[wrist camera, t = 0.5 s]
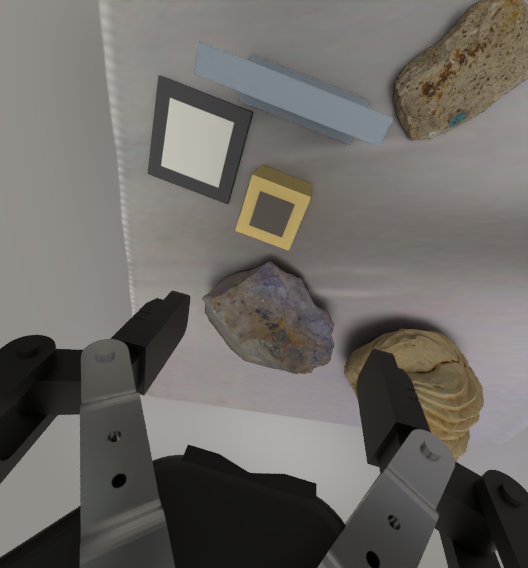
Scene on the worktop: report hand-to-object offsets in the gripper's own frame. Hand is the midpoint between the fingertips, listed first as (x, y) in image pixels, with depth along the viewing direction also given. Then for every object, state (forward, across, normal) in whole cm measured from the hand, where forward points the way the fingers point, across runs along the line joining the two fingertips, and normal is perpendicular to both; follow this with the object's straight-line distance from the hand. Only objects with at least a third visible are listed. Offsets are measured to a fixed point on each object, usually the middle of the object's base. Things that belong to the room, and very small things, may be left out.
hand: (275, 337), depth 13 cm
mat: (+25, +13, -4) cm, 28 cm away
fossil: (+26, -19, +17) cm, 37 cm away
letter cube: (+25, +3, 0) cm, 25 cm away
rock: (+25, -10, -15) cm, 30 cm away
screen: (+24, +3, -10) cm, 27 cm away
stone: (+26, 0, +14) cm, 30 cm away
